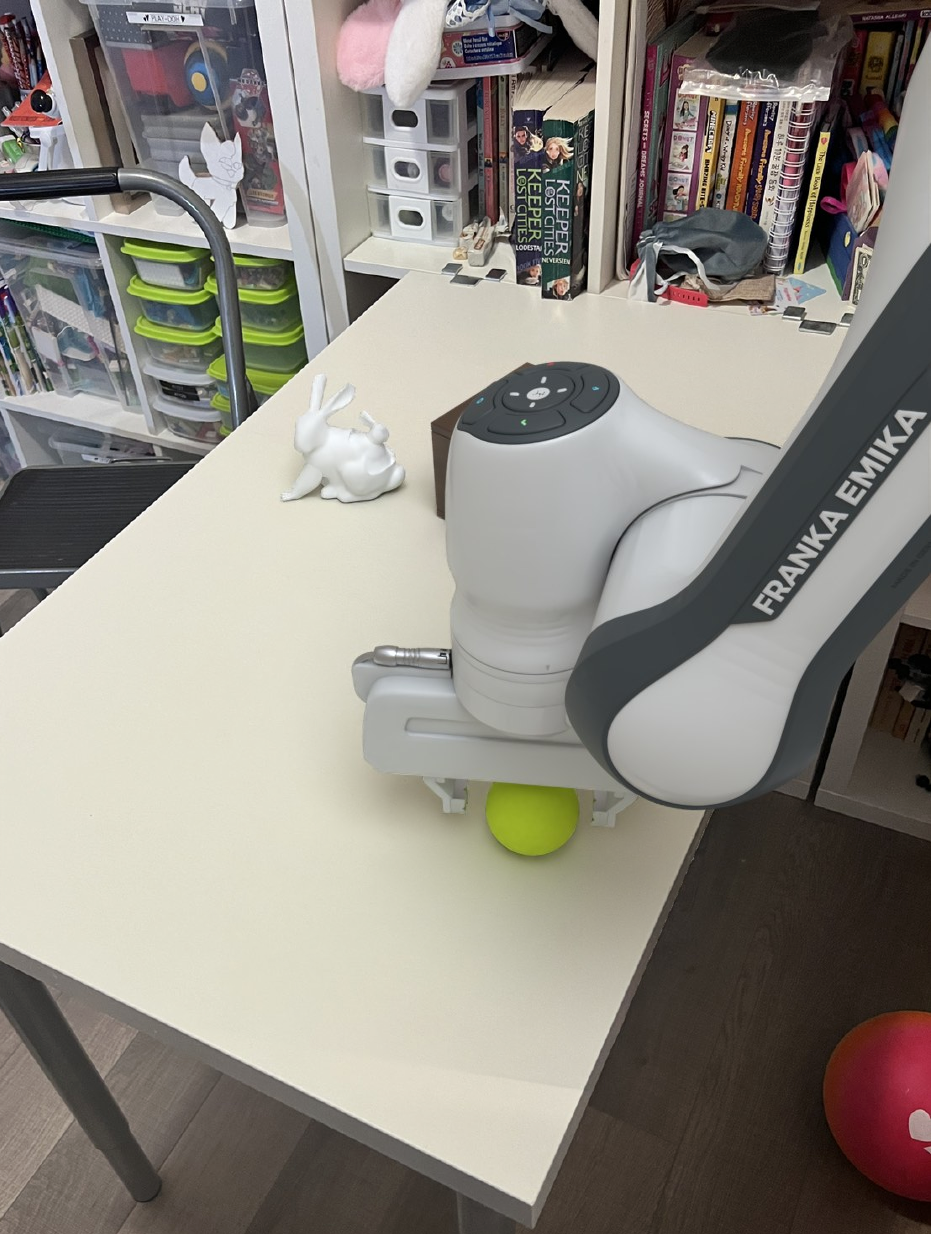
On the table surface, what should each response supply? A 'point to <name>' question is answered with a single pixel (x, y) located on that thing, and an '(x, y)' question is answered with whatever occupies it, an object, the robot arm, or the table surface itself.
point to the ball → (531, 816)
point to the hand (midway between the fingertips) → (528, 812)
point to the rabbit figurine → (342, 452)
